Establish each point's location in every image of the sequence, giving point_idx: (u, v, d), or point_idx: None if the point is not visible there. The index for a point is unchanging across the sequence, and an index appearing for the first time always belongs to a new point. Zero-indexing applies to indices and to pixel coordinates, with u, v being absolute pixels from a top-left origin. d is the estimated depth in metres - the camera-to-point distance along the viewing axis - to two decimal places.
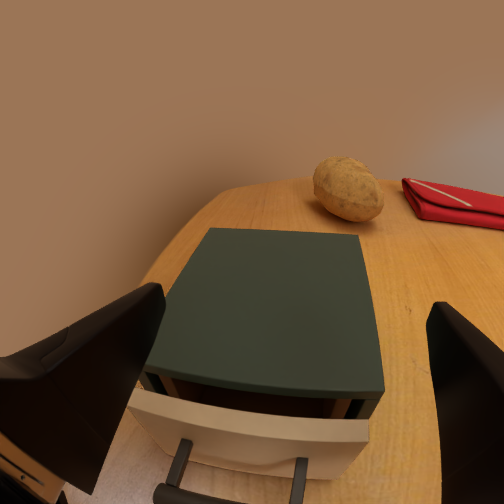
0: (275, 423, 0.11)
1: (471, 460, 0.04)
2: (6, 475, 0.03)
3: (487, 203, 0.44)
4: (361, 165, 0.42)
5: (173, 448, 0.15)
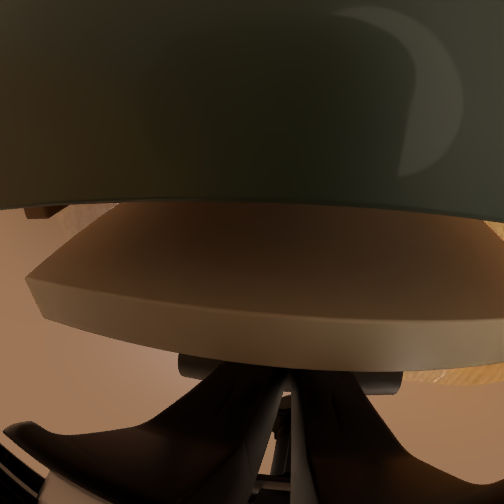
0: (383, 344, 0.04)
1: (295, 475, 0.05)
2: None
3: None
4: None
5: None
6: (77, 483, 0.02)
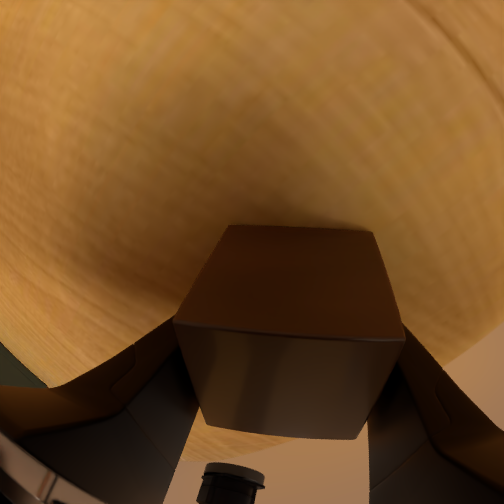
0: None
1: (390, 474, 0.04)
2: None
3: None
4: None
5: None
6: None
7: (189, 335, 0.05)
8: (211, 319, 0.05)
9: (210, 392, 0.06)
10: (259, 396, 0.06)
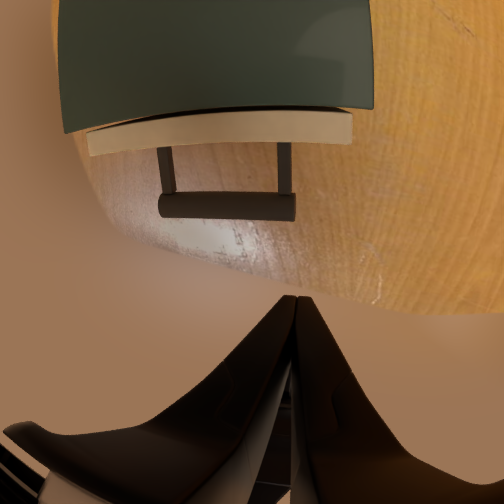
0: (235, 123, 0.10)
1: (295, 475, 0.05)
2: None
3: None
4: None
5: None
6: (77, 483, 0.02)
7: None
8: None
9: None
10: None
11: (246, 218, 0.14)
